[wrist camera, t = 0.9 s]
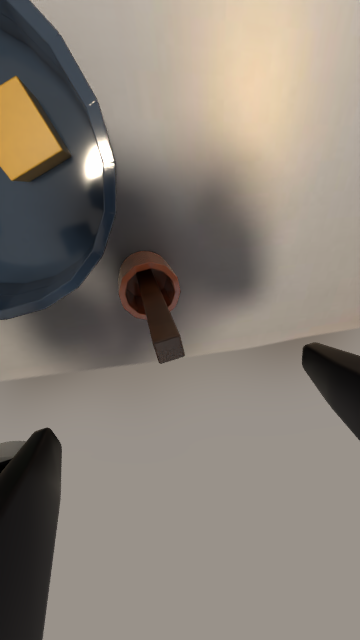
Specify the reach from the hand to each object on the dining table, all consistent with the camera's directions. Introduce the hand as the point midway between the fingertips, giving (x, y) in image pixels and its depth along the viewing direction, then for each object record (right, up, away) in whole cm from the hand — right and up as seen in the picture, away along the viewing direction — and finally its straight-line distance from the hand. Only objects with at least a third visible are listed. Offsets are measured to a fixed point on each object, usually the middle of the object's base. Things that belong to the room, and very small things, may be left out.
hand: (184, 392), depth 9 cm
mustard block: (-8, +13, +6) cm, 16 cm away
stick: (-3, +6, +11) cm, 13 cm away
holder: (-3, +6, +11) cm, 13 cm away
